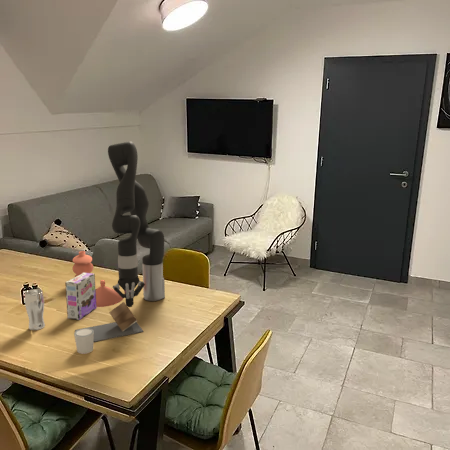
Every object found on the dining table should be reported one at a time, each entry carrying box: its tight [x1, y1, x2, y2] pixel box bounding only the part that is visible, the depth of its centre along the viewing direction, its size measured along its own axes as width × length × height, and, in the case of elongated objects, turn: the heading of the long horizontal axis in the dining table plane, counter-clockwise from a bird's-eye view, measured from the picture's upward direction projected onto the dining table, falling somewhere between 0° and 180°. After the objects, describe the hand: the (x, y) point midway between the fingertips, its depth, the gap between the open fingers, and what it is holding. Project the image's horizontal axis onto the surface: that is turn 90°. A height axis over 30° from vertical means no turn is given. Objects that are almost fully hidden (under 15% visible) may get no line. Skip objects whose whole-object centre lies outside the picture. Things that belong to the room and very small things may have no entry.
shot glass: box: [73, 327, 94, 355], centre depth 162 cm, size 7×7×7 cm
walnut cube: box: [108, 301, 138, 331], centre depth 179 cm, size 7×7×7 cm
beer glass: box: [24, 288, 46, 331], centre depth 179 cm, size 7×7×15 cm
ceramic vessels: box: [72, 250, 125, 308], centre depth 213 cm, size 35×21×19 cm, turn 43°
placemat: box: [74, 321, 144, 343], centre depth 177 cm, size 24×13×1 cm, turn 118°
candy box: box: [65, 272, 98, 321], centre depth 192 cm, size 14×6×16 cm, turn 164°
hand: (129, 306), depth 179 cm, fingers closed
